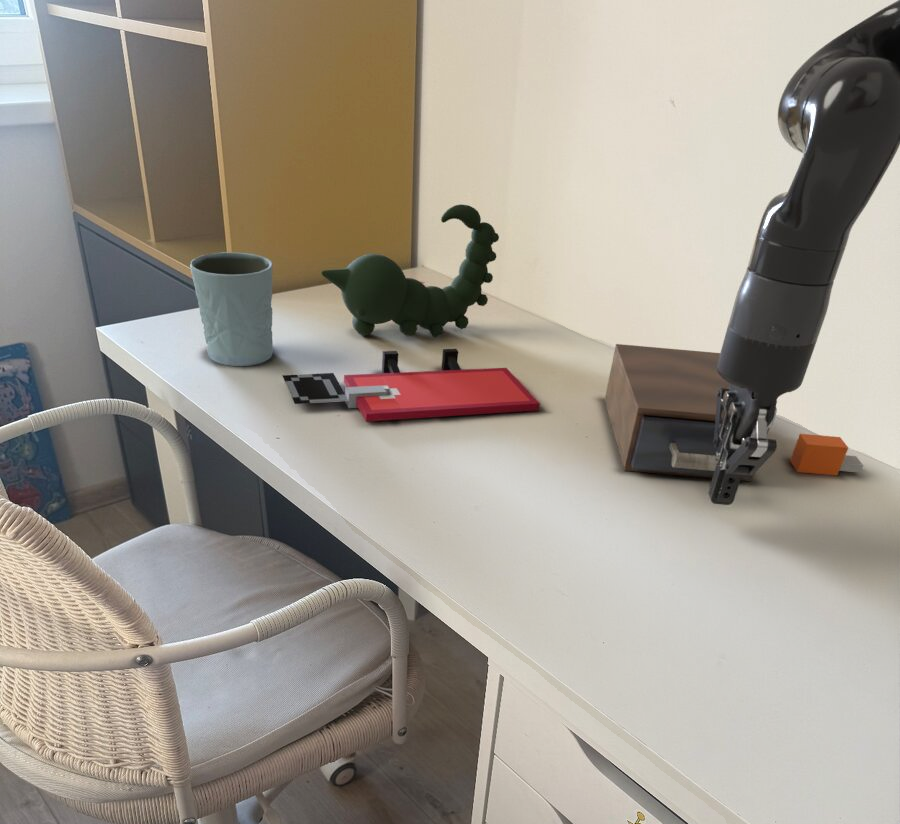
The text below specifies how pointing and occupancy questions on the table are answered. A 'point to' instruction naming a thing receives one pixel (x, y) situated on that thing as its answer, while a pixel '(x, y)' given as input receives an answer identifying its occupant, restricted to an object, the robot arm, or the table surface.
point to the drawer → (676, 446)
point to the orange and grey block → (823, 455)
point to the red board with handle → (417, 390)
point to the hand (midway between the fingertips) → (719, 500)
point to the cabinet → (659, 391)
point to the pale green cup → (235, 306)
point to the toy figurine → (417, 285)
